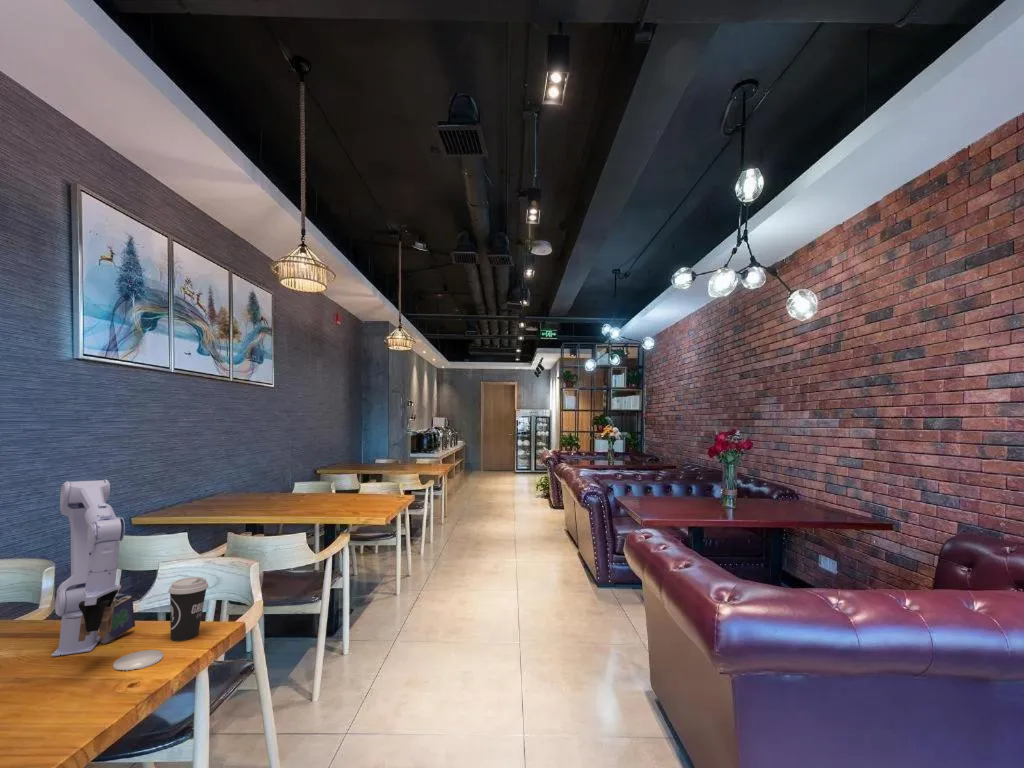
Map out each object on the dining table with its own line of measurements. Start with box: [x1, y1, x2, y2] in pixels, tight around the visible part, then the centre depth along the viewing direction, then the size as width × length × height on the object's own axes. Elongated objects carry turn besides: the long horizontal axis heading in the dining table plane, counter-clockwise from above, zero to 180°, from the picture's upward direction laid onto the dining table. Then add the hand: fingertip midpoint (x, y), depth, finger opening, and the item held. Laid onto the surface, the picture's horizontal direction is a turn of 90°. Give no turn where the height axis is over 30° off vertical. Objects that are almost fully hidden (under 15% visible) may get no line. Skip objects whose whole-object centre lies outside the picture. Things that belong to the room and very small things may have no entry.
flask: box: [98, 595, 136, 645], centre depth 134 cm, size 9×3×11 cm, turn 169°
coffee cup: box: [167, 576, 209, 642], centre depth 137 cm, size 10×10×15 cm
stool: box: [78, 606, 114, 642], centre depth 119 cm, size 5×5×6 cm
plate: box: [112, 649, 164, 672], centre depth 121 cm, size 10×10×1 cm
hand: (96, 626), depth 119 cm, fingers closed on stool, 5 cm apart
